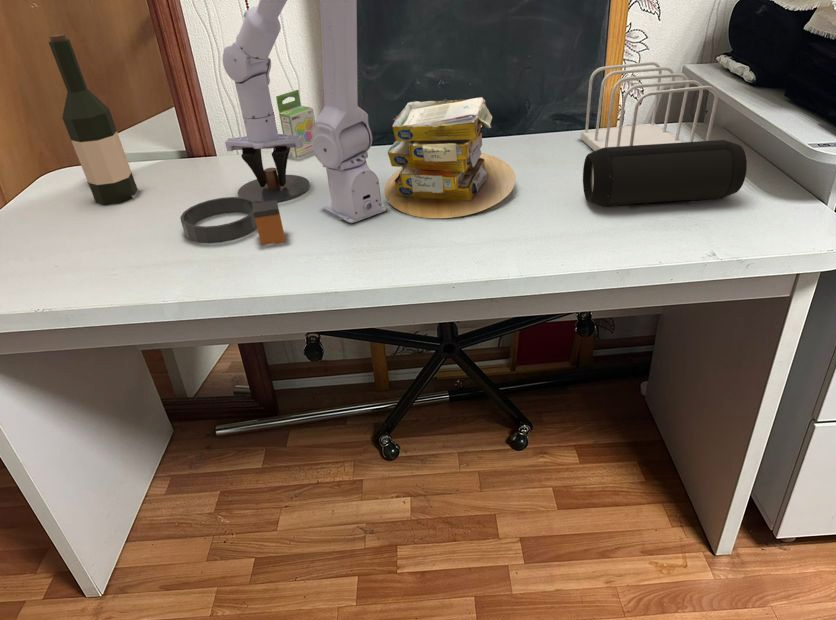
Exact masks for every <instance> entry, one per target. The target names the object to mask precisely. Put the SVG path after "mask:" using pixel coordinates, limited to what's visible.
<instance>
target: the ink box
mask: <svg viewBox="0 0 836 620" xmlns="http://www.w3.org/2000/svg"><path fill="white" fill-rule="evenodd" d="M275 98H276V105H277V110H278V116H279V119H280V126H281V131H282V134H285V135H302V139H303V147H302V148H296V147H294V148H290V152H289V155H288V157H292V158H295V159H300V158H302V157H305V156H307V155H310V154H312V153H314V150H313V145H312V142H313V137H314V135H315V132H316V118H315V112H314V108H313V107H311V106H305V105H302V104H301V103H302V102H301V97H300V91H299V89H296V90H293V91H289V92H286V93H282V94H279V95H276V96H275ZM288 98H294V100H291V101H288V102H286V103H283V102H284V101H285V100H287V99H288Z"/></svg>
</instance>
